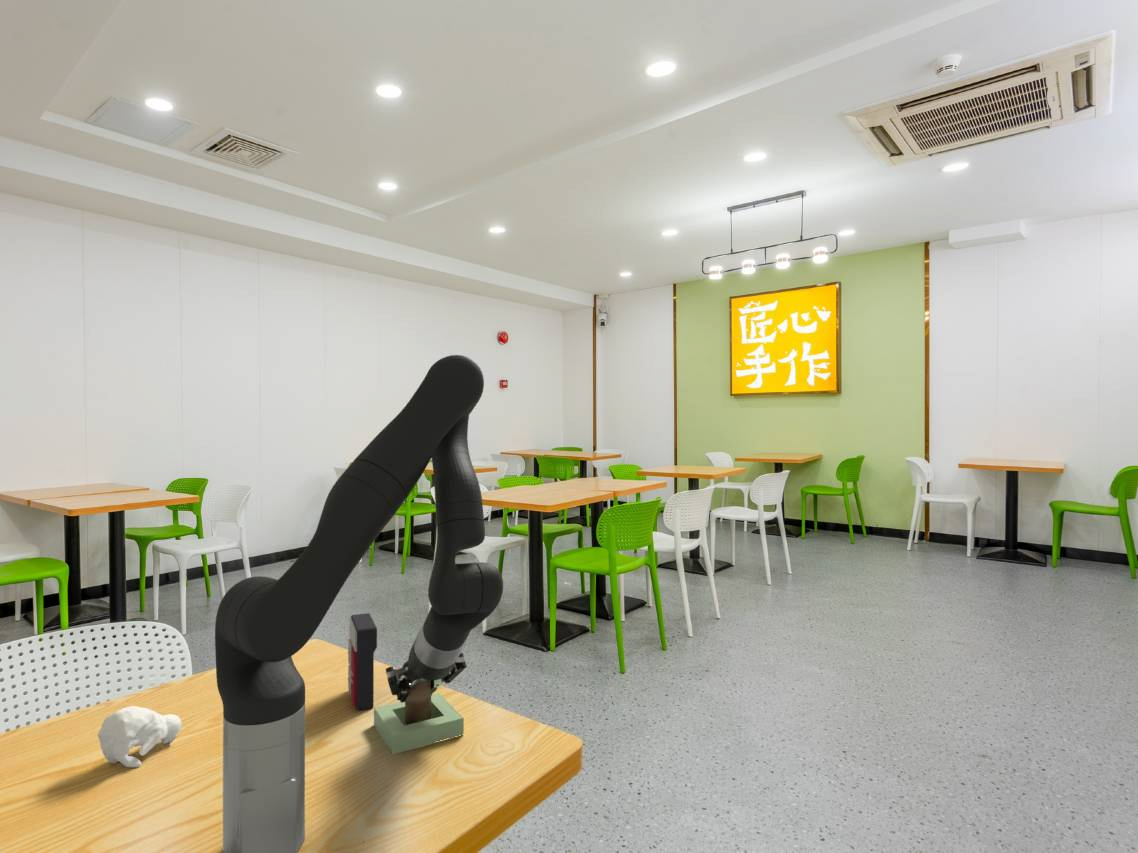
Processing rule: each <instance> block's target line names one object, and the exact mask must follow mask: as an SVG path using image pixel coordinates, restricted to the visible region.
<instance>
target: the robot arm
mask: <svg viewBox="0 0 1138 853" xmlns="http://www.w3.org/2000/svg"><path fill="white" fill-rule="evenodd" d="M484 386H485V380H484V374H483V371H482V369H481V367H480V366H479V364H478V363H477V362H476V361H475V360H473V359H472V358H471V357H468V356H467V355H466V356H465V355H462V354H461V355H460V354H453V355H452V354H450V355H447V356H445V357H442V358H440V359H439V360H437V361H435V362H434V363H433V364H432V365H431V366H430V368H429V370H428V371H427V373H426V375H425V377H424V378H423V380H422V382H421V383H420V385H419V386H418V387H417V389H416V390H415V392H414V394H413V395H412V396H411V398H410V399H409V401H407V403H406V405H405V406H404V407H403V408H402V410H400V412H399V413H398V414H397V415H396V416H395V417H394V418H393V419H392V420H391V421H390V422H389V423H387V425H386V426H385V427H384V428H382V430H381V431H380V432H379V433H378V434H377V435H376V436H375V437H374V438H373V439H372V440H371V441H370V442H369V443H368V444H367V446H365V447H364V449H363V450H361V452H360V453H358V455H357V456H356V457H355V458H354V460H353V461H352V462H351V463H350V464H349V466H348V467H346V469H345V470H344V472H343V473H342V474H341V475H340V476H339V477H338V479H337V480H336V482H334V484H333V486H332V487H331V488H330V491H329V492H328V494H327V497H326V499H325V502H324V505H323V509H322V512H321V514H320V516H319V517H320V518H319V520H318V524H317V526H316V529H315V532H314V534H313V536H312V538H311V540H310V541H309V543H308V544H307V546H306V547H305V549H304V550H303V551H302V552H301V554H299V556H298V558H297V559H295V561H294V562H293V563H292V564H291V566H290V567H289V568H288V569H287V570H286V571H285V572H284V574H282V575H281V576H280V577H279V578H278V579H277V578H272V577H269V576H259V575H258V576H250V577H247V578H244V579H241V580H240V581H239V582H237V583H235V584H234V585H233V586H231V587H230V589H228V590H227V591H226V593H225V594H224V595H223V597H222V599H221V601H220V603H219V606H218V608H217V613H216V615H215V624H214V644H215V646H214V649H215V671H216V672H215V673H216V675H215V676H216V687H217V691H218V693H219V696H220V699H221V702H222V711H223V713H222V714H223V715H222V716H223V718H222V719H223V720H222V724H223V726H222V729H223V730H222V732H223V734H222V737H223V738H222V853H298V851H299V850H300V849H301V847H302V845H303V843H304V842H305V838H306V837H305V836H306V802H305V800H306V798H305V796H306V779H305V778H306V685H305V681H304V678H303V677H302V675H301V674H300V672H299V671H298V669H297V667H296V665H295V663H294V660H293V658H292V656H294V655H295V654H296V653H298V652H299V651H300V650H302V648H303V647H304V646H305V645H306V644H307V643H308V642H309V641H310V639H311V638H312V637H313V635H314V633H315V632H316V631H317V629H318V628H319V626H320V625H321V623H322V622H323V620H324V617H325V616H326V614H327V613H328V611H329V609H330V608H331V607H332V604H333V603H334V601H335V599H336V598H337V596H338V595H339V593H340V591H341V589H342V587H343V586H344V584H345V583H346V582H347V580H348V579H349V577H350V575H351V574H352V572H353V570H354V569H356V567H357V565H358V564H359V563H360V562H361V560H362V559H363V557H364V556H365V554H366V553H367V551H368V550H369V549H370V547H371V546H372V544H373V543H374V542H375V540H376V539H377V538H378V536H379V535H380V534H381V532H382V531H383V530H384V529H385V527H386V526H387V525H388V524H389V523H390V521H391V520H392V518H393V517H394V516H395V515H396V513H397V512H398V511H399V509H400V507H401V506H402V505H403V504H404V503H405V501H406V500H407V499H408V497H409V495H410V494H411V492H412V491H413V490H414V488H415V486H416V485H417V484H418V482H419V480H420V479H421V477H422V475H423V473H424V472H425V470H426V468H427V467H428V464H429V463H430V461H431V462H432V463H431V464H432V472H433V484H434V500H435V518H436V536H437V537H436V548H435V554H434V561H433V566H432V570H431V573H430V578H429V583H428V589H427V596H428V601H429V604H430V605H431V607H430V609H429V611H428V613H427V615H426V617H425V620H424V621H423V623H422V624H421V626H420V628H419V630H418V632H417V634H416V636H415V639H414V641H413V642H412V646H411V648H410V650H409V654H408V658H407V661H406V662H404V663H403V665H402V667H401V668H394V666H388V667H386V668H385V672H386V673H385V674H386V680H387V682H388V683H387V684H388V686H389V689H390V693H391V695H392V696H396V698H397V702H401V703H402V702H405V699H406V697H407V696H408V695H409V692H410V691H411V690H412V689H416V688H417V687H418V686H419V685H420V684H421V683H422V682H424V681H425V680H431V696H432V694H435V692H436V691H437V689H438V688H440V687H441V685H442V683H445V684H450V683H451V682H453V680H454V679H455V678H456V677H458V676H459V675H460V674H461V673H462V672H464V670H465V669H466V668H467V663H466V659H465V655H464V653H463V652H462V651H463V649H464V647H465V643H466V640H467V638H468V637H469V635H470V633H471V632H472V630H474V629H475V628H477V627H478V626H479V625H480V624H481V623H482V622H484V621H485V620H486V619H488V617H489V616H490V615H491V614H492V613H493V612H494V611H496V609H497V607H498V605H499V603H500V601H501V599H502V597H503V592H504V579H503V577H502V574H501V573H502V572H500V570H499V569H498V568H497V567H496V566H495V565H493V564H491V563H489V562H468V563H467V562H463V563H456V557H457V554H458V553H459V552H462V551H464V550H465V551H466V550H469V549H473V548H475V547H478V546H479V545H481V544H482V543H484V541H485V538H486V527H485V518H484V507H483V499H482V498H483V496H482V491H481V485H480V481H479V478H478V477H477V474H476V471H475V469H474V466H473V463H472V460H471V455H470V451H469V441H468V435H469V434H468V433H469V432H468V431H469V430H468V429H469V419H470V414H471V413H472V412H473V410H474V409H475V407H476V406H477V405H478V403H479V401H480V400H481V398H482V396H483V395H482V394H483V393H484Z"/></svg>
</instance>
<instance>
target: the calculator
mask: <svg viewBox="0 0 1138 853" xmlns="http://www.w3.org/2000/svg"><path fill="white" fill-rule="evenodd" d="M347 645H348V648H347V649H348V651H347V655H348V656H347V657H348V661H347V662H348V667H347V669H348V671H347V672H348V676H347V681H348V682H347V685H348V687H347V688H348V692H349V695H350V699H351V704H352V706H353V708H356V711H363V710H369V709H372V708H373V709H374V705H375V704H374V693H375V692H374V688H375V686H374V685H375V684H374V682H375V681H374V679H375V678H374V675H375V674H374V671H375V670H374V667H375V666H374V664H375V663H374V662H375V661H374V660H375V658H374V655H375V654H374V653H375V652H376V649H377V647H378V628H377V625H376V624H375V622H374V619H373V617H372V616H371V614H370V612H366V613H359V614H352V615H351V616H350V618H349V638H348V644H347Z"/></svg>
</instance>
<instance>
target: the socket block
mask: <svg viewBox="0 0 1138 853" xmlns="http://www.w3.org/2000/svg"><path fill="white" fill-rule="evenodd" d="M464 721H465V720H464V717H463V716H462V715H461V713H459V711H458V710H456V709H455V707H454V706H453V705H451V703H450V702H449V701H448V700H447V699H446V698H445V697H444V696H443V695H442V694H441V693H440V692H437V693H433V694H432V696H431V719H429V720H425V721H421V722H417V723H413V724H409V725H406V724H405V702H402V703H401V702H400V701H397V702H393V703H388V704H384V705H379V706H375V707H373V725H374V727H375V728H376V730H377V732H378V733H379V735H380V736H381V738H382V739H383V741H384V742H385V744H386V746H387V747H388V749H389V750H390V751H391V753H392V755H397V754H401V753H404V752H408V751H412V750H415V749H418V748H423V747H426V745H427V746H429V745H428V744H430V745H432V744H431V743H434V742H436V741H440V740H444V739H447V738H452V737H455V736H459V735H462V734H465V733H464V731H465V730H464V729H465V728H464V727H465V726H464ZM434 744H435V743H434ZM422 746H423V747H422Z"/></svg>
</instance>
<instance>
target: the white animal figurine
mask: <svg viewBox="0 0 1138 853" xmlns="http://www.w3.org/2000/svg"><path fill="white" fill-rule="evenodd" d="M181 729H182V720H181V718H180V717H179V716H178V715H176V714H165V715H163V714H160V713H159V712H157V711H154V710H153V709H149V708H147V707H141V706H136V705H134V706H133V705H131V706H127V707H123V708H120V709H119V710H117V711H115V712H113V713H112V714H110V715H108V716H107V717H106V718H105V719H104V720H103V722H102V724H101V727H100V729H99V731H98V732H97V737H98V739H99V743H100V748H101V752H102V754H103V756H104V758H105V760H107V761H108V762H110V763H111V764H116V763H118V762H119V763H121V765H123V766H124V767H126V768H139V767H140V766H142V762H141V760H140V759H138V758H137V757H135V756H131V755H129V754H130V750H131V749H132V748H133V747H141V748H140V750H139V756H142V757H143V756H145V755H146V754H147V753H148V752H149V751H151V749H153V748H154V747H155V746H156V745H157V743H160V742H161V744H163V745H167V744H168V743H169V744H170V743H171V744H173V743H174V742H175V740H176V738H177V736H178V734H179V732H180V731H181Z"/></svg>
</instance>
